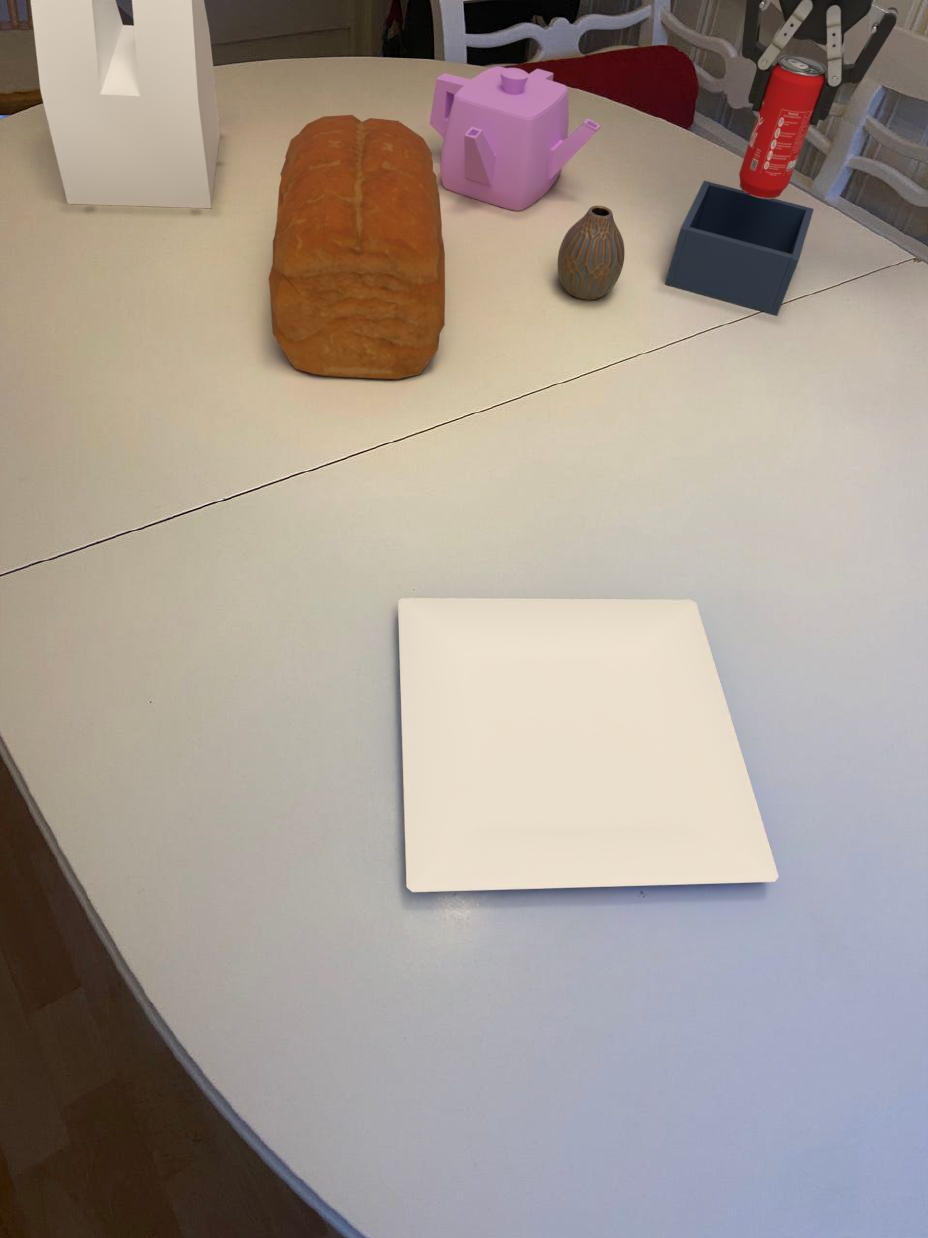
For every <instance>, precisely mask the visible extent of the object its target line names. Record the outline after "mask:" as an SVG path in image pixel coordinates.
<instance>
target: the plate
mask: <svg viewBox="0 0 928 1238" xmlns="http://www.w3.org/2000/svg"><path fill="white" fill-rule="evenodd" d="M397 617H398V618H397V619H398V647H399V648H398V649H399V679H400V680H399V682H400V683H399V684H400V715H401V716H400V717H401V718H400V719H401V749H402V780H403V783H402V784H403V786H402V787H403V815H404V844H405V845H404V846H405V848H404V849H405V877H406V878H405V880H406V881H405V882H406V883H405V884H406V888H407V889H408V890H409V891H410V892H411V893H430V892H431V893H432V892H465V891H499V890H501V891H503V890H504V891H505V890H535V889H536V890H537V889H539V890H540V889H569V888H570V889H571V888H572V889H573V888H605V887H606V888H607V887H639V886H641V887H644V886H674V885H675V886H677V885H680V886H681V885H709V884H710V885H711V884H743V883H744V884H745V883H746V884H747V883H748V884H749V883H775V882H776V881H777V880H778V879H779V878H780V876H779V872H778V868H777V866H776V862H775V859H774V855H773V852H772V848H771V845H770V843H769V839H768V836H767V833H766V829H765V825H764V822H763V818H762V816H761V812H760V808H759V806H758V802H757V800H756V796H755V793H754V789H753V785H752V782H751V779H750V776H749V773H748V769H747V766H746V763H745V759H744V756H743V753H742V749H741V745H740V743H739V739H738V736H737V732H736V730H735V727H734V722H733V719H732V716H731V713H730V710H729V709H730V708H729V706H728V703H727V699H726V696H725V693H724V690H723V687H722V683H721V679H720V676H719V673H718V669H717V666H716V662H715V660H714V656H713V653H712V650H711V647H710V643H709V639H708V637H707V633H706V629H705V627H704V623H703V620H702V617H701V613H700V610H699V606H698V603H697V602H696V601H694V600H693V599H681V598H680V599H677V598H676V599H675V598H674V599H671V598H668V599H667V598H666V599H665V598H664V599H663V598H658V599H657V598H655V599H654V598H653V599H652V598H650V599H649V598H525V597H524V598H523V597H522V598H521V597H520V598H518V597H517V598H511V597H509V598H508V597H507V598H505V597H500V598H499V597H498V598H497V597H401V598H400V599H398V600H397Z"/></svg>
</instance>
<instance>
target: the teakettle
mask: <svg viewBox="0 0 928 1238" xmlns="http://www.w3.org/2000/svg"><path fill="white" fill-rule="evenodd" d="M569 115H570V114H569V89H568V87H567V86H566V84H563V83H560V82H557V81H554V72H551V71H547V70H544V69H542V68H541V69H540V68H536V69H534V70H533V71H530V73H528V72H527V71H525V70H524V69H521V68H517V67H504V66H497V65H496V66H493V67H489V68H487V69H486V70H484V71H481V72H480V73H479V74H477V75H475V76H474V77H473V78H471V79H470V78H466V77H462V76H457V75H454V74H449V73H447V72H446V73H445V72H444V73H443V74H441V75H440V76H438V77H437V78H436V79H435V84H434V92H433V97H432V105H431V112H430V118H429V126H431V127H432V128H433V129H434V130H435V131H436V133H438V135H440V136H441V138H442V139H443V141H442V149H441V155H440V164H439V171H440V172H439V173H440V177H441V183H442V186H443V188H444V189H446V190H448V191H451V192H453V193H456V194H459V195H462V196H465V197H468V198H471V199H473V200H477V201H479V202H483V203H486V204H489V205H493V206H495V207H500V208H502V209H506V210H510V211H514V212H520V211H523V210H525V209H528V208H529V207H531V206H532V205H534V204H535V203H537V202H538V201H539V200H541V198H543V197H544V196H545V195H546V194H547V193H548V192H549V191H550V189H551V188H552V187H553V185H554V184H555V182H556V181H557V179H558V178H559V175H560V174H561V171H562V169H563V167H564V166H565V165H566V164H567V163H568V162H569V161H570V160H571V159H572V158H574V156H575V155H576V154H577V153H578V152H579V151H580V150H581V149H582V148H583V146H585V145H586V143H588V142H589V140H590V139H591V138H592V137H593V136H594V135H595V134H596V133H597V132H598V131H599V130H600V128H601V125H600V124H598V123H597V122H595V121H593V120H592V119H589V118H586V119H585V120H584V121H583V122H582V124H581V125H580V126H578V127H577V128H576V129H575V130H574V131H573V132H572V133H570V135H569V122H570V121H569V118H570V117H569Z"/></svg>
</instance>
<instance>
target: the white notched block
mask: <svg viewBox="0 0 928 1238" xmlns="http://www.w3.org/2000/svg"><path fill="white" fill-rule="evenodd" d="M131 5H132V6H131V7H132V18H133V25H129V24H123V20H122V16H121V14H120V10H119V6H118V4H117V1H116V0H30V9H31V16H32V17H31V19H32V27H33V35H34V45H35V54H36V62H37V71H38V78H39V79H38V80H39V81H38V82H39V89H40V95H41V99H42V103H43V108H44V111H45V115H46V118H47V124H48V129H49V132H50V136H51V140H52V144H53V145H52V146H53V148H54V153H55V157H56V161H57V165H58V169H59V173H60V177H61V182H62V185H63V189H64V190H63V191H64V195H65V199H66V202H67V205H89V206H90V205H94V206H119V207H120V206H121V207H122V206H124V207H126V206H127V207H150V208H151V207H152V208H154V207H155V208H181V209H182V208H184V209H212V205H213V198H214V197H213V196H214V188H215V180H216V173H217V164H218V155H219V148H220V139H221V128H220V116H219V109H218V99H217V98H218V97H217V89H216V81H215V71H214V62H213V54H212V53H213V52H212V42H211V35H210V33H211V32H210V28H209V22H208V21H209V20H208V16H207V11H206V5H205V0H131Z"/></svg>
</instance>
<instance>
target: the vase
mask: <svg viewBox="0 0 928 1238" xmlns="http://www.w3.org/2000/svg"><path fill="white" fill-rule="evenodd" d="M625 254H626V253H625V243H624V239H623V236H622V233H621V232H620V230H619V228H618V226H617V223H616V222H615V219H614V214H613V211H612V210H611V209H610V208H608V207H606V206H603V205H593V206H591V207H589V209H587V211H586V213H585V214H584V215H583V216H582V217H581V218H580V219H578V220H577V222H575V223H574V224H573V225H572V226H571V227H570V228H569V229H568V231H567V232H566V233H565V235H564V236H563V239H562V241H561V243H560V246H559V250H558V254H557V262H556V263H557V264H556V265H557V274H558V278H559V281H560V283H561V285H562V286H563V288H564V289H565V291H566V292H567V293H568V294H570V296H573V297H575V298H577V299H580V300H584V301H585V300H586V301H587V300H588V301H591V300H597V299H600V298H601V297H603V296H604V295H606V294H608V293H609V292H610V291H611V290H613V288H614V287H615V285H616V284H617V282H618V280H619V278H620V277H621V274H622V271H623V268H624V264H625V263H624V262H625Z"/></svg>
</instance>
